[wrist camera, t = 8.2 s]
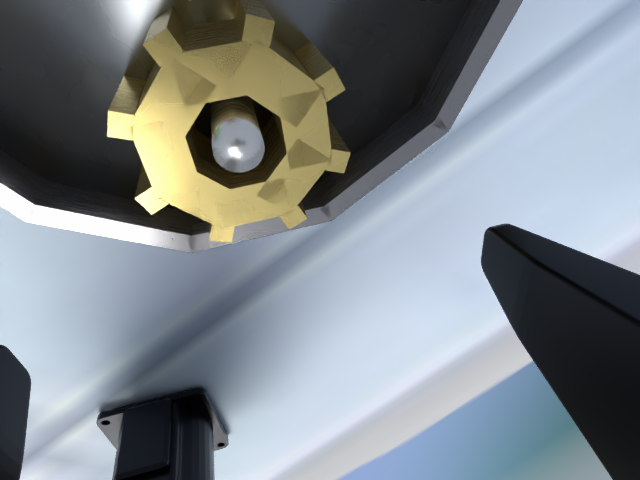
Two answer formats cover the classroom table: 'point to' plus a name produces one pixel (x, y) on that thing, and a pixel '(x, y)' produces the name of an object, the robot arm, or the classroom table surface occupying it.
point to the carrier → (223, 103)
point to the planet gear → (219, 84)
